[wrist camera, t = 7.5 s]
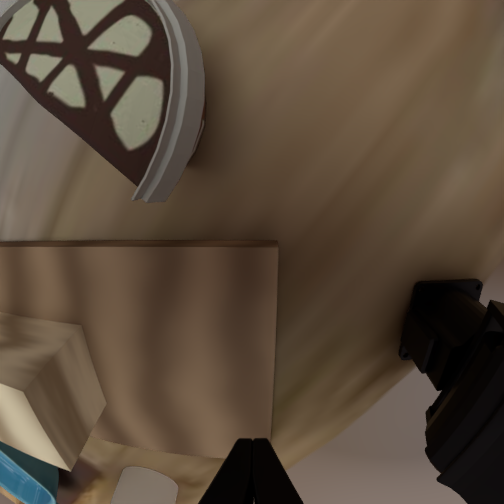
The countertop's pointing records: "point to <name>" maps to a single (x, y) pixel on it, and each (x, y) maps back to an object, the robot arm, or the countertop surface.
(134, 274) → the walnut board
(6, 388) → the maple block
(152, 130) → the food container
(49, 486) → the casserole dish
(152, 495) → the cylindrical container
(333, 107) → the countertop surface
